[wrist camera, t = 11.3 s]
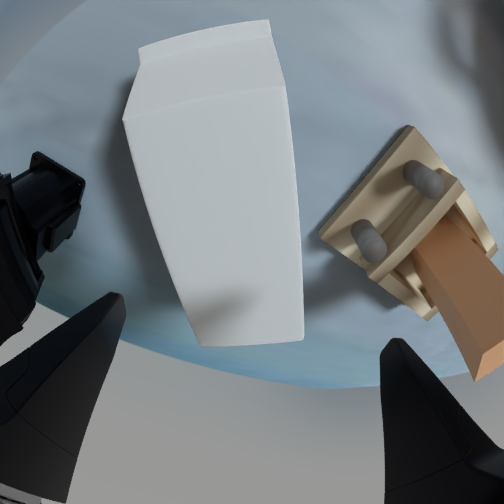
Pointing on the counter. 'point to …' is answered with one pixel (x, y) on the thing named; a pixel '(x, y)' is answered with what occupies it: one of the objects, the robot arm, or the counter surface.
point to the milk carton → (221, 181)
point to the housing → (403, 218)
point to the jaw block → (464, 294)
